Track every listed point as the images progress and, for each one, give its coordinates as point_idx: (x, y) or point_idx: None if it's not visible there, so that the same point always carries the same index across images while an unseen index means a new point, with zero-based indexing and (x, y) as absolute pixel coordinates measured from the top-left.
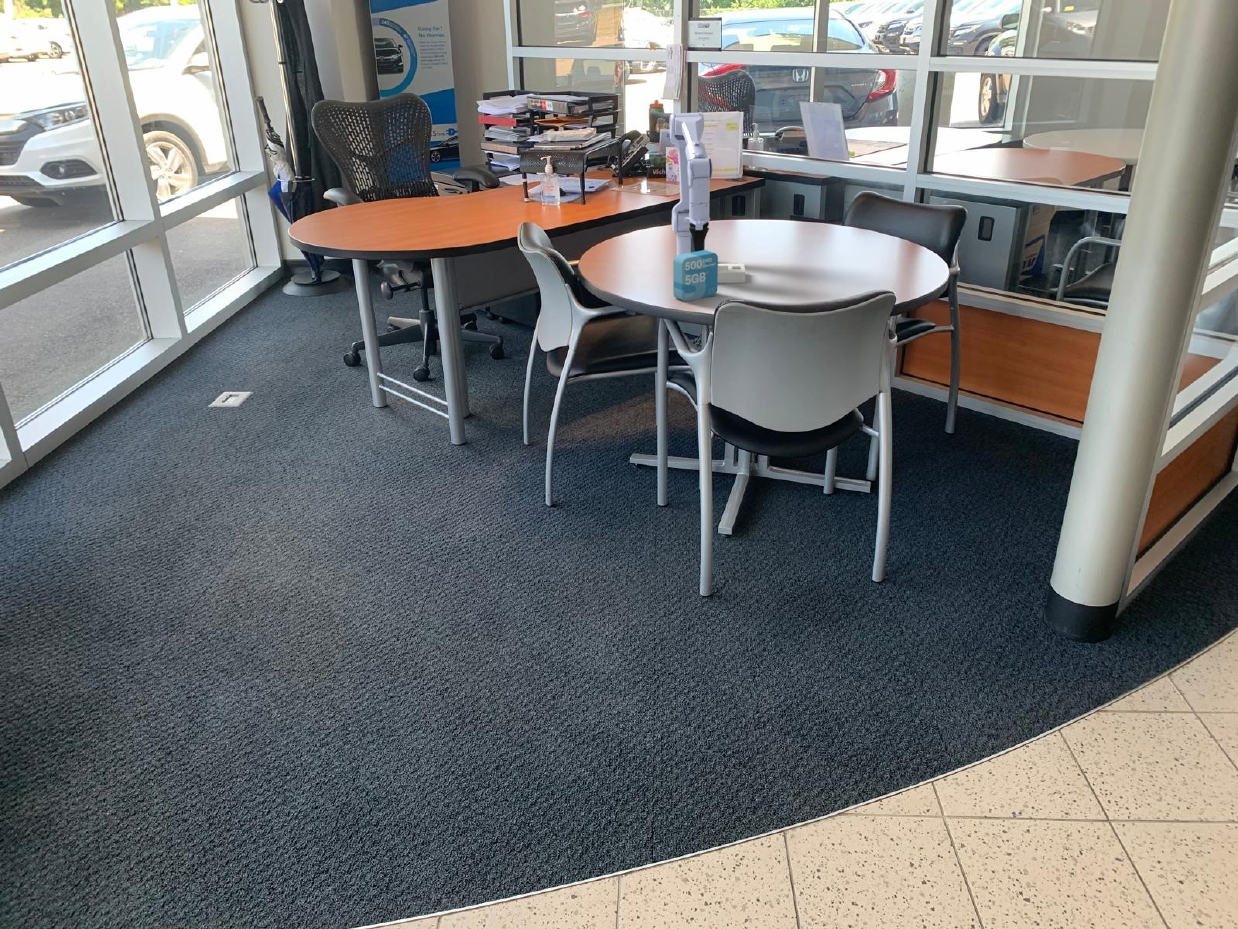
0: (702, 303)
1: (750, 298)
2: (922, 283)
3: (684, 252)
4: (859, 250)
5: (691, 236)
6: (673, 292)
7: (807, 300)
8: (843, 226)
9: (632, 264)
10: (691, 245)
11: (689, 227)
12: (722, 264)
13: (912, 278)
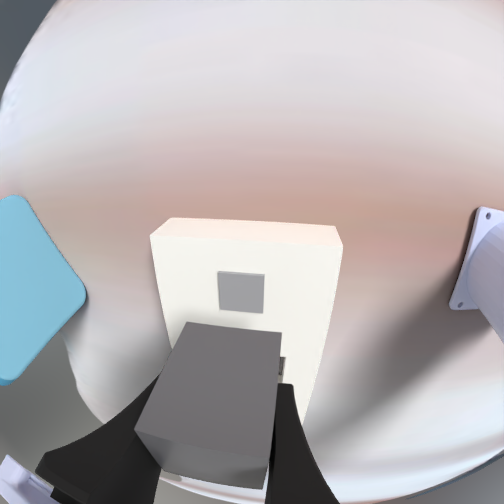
0: None
1: (79, 363)
2: (218, 496)
3: (501, 271)
4: (393, 486)
5: (188, 445)
6: (7, 197)
7: (106, 421)
8: (498, 452)
9: (496, 32)
10: (159, 381)
11: (61, 490)
12: (300, 392)
13: (240, 498)
